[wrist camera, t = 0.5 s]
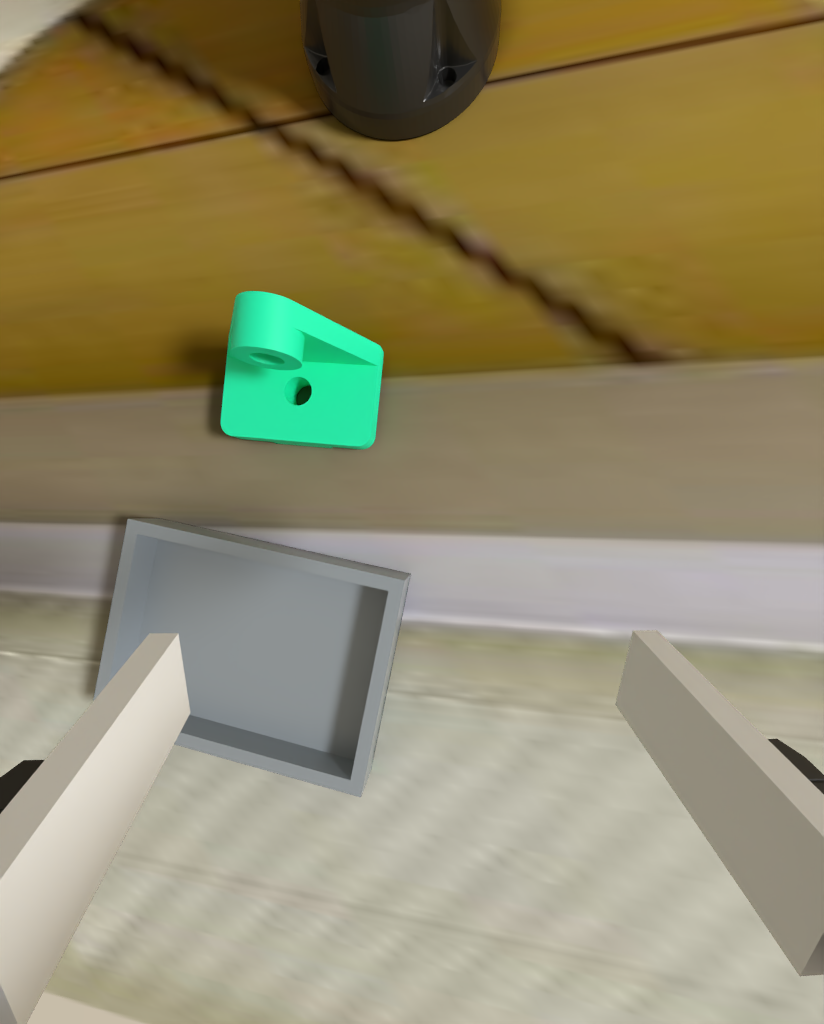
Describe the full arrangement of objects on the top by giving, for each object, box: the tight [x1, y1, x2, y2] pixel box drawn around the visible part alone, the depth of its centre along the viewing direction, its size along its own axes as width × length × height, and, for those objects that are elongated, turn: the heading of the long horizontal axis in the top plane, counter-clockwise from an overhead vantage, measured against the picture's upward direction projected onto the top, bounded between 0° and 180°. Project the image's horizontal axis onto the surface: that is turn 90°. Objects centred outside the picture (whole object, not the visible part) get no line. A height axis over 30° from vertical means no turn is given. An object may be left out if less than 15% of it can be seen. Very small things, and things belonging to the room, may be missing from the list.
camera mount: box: [221, 291, 384, 449], centre depth 31 cm, size 12×8×10 cm, turn 84°
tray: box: [93, 518, 411, 797], centre depth 35 cm, size 16×22×4 cm
